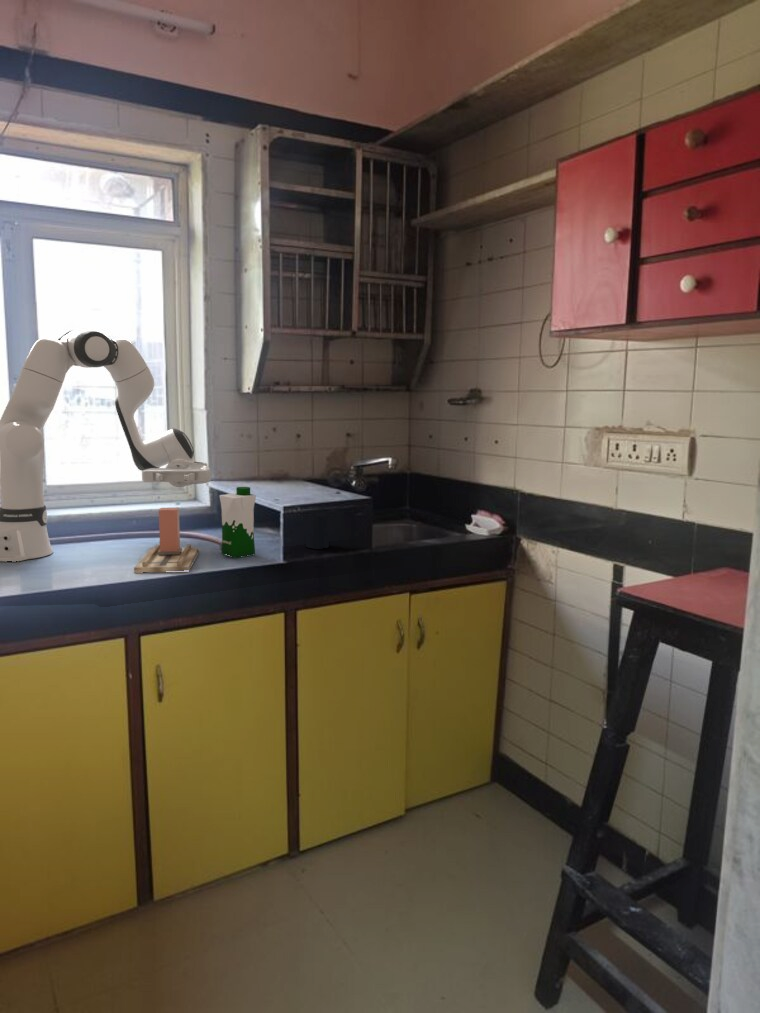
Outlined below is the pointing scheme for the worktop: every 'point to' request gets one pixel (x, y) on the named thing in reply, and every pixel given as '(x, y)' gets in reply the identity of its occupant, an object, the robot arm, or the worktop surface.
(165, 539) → the salmon orange rectangular block
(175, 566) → the tan flat ridged board
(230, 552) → the milk carton
